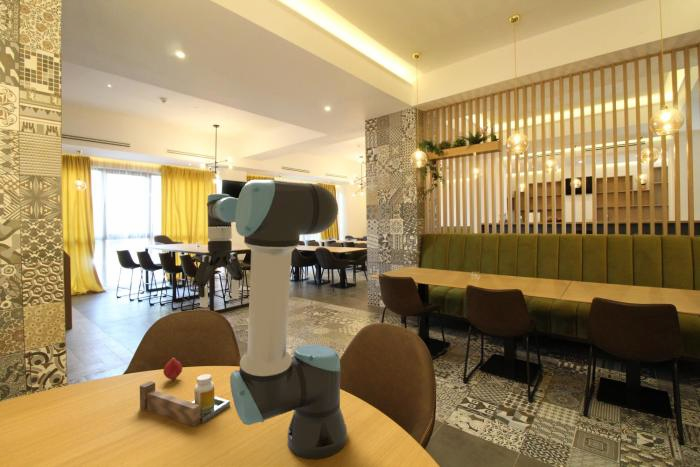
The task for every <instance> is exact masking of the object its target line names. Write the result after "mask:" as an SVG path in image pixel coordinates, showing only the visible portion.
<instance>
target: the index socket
mask: <svg viewBox="0 0 700 467" xmlns="http://www.w3.org/2000/svg"><path fill="white" fill-rule="evenodd" d="M191 402H192V403H195V399H194V400H193V401H191ZM214 403H215V406H214V409H213V410H211V411H210V412H208V413H204V414H200V423H199V424H203V425H204V424H205V423H206V422H207V421H209V420H211V419H212V418H214V417H215V416H217V415H218V414H221V412H223V411H224V410H226V409H227V408H229V407H230V406H231V401H230V400H228V399H225V398H221V397H218V396H215V395H214Z"/></svg>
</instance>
